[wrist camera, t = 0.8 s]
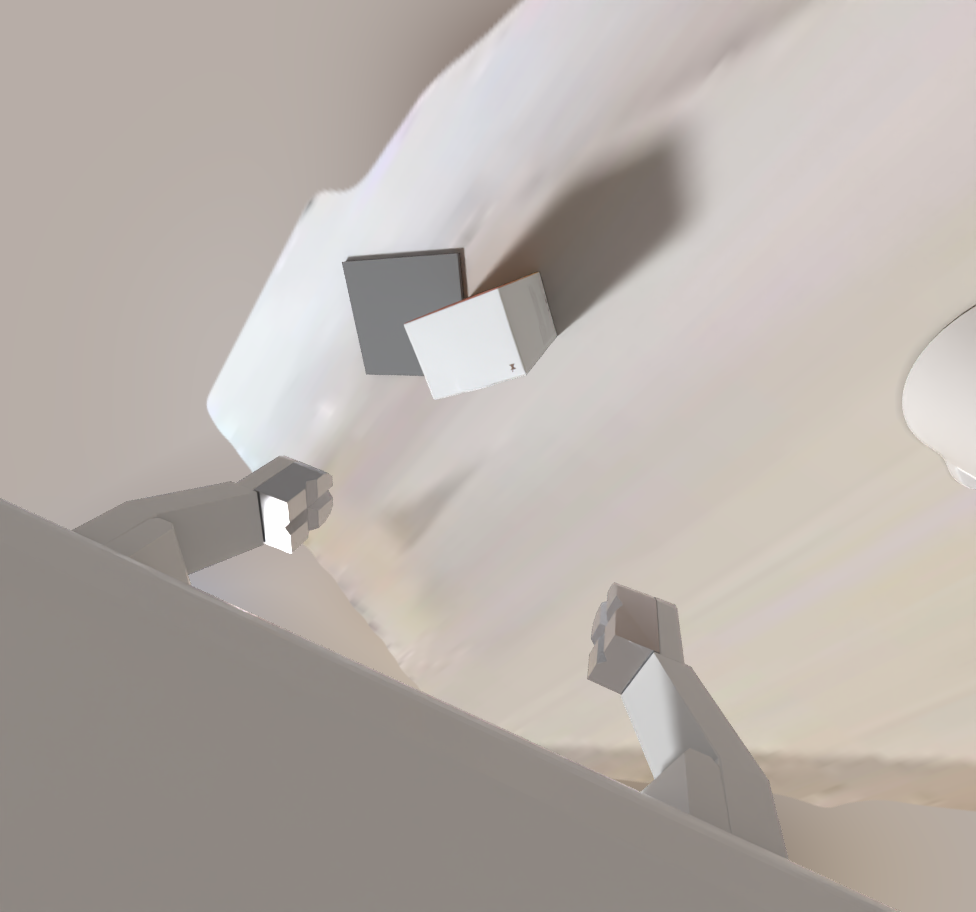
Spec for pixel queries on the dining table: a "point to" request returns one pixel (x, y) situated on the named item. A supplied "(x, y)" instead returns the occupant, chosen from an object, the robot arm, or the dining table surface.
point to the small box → (483, 337)
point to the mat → (398, 305)
